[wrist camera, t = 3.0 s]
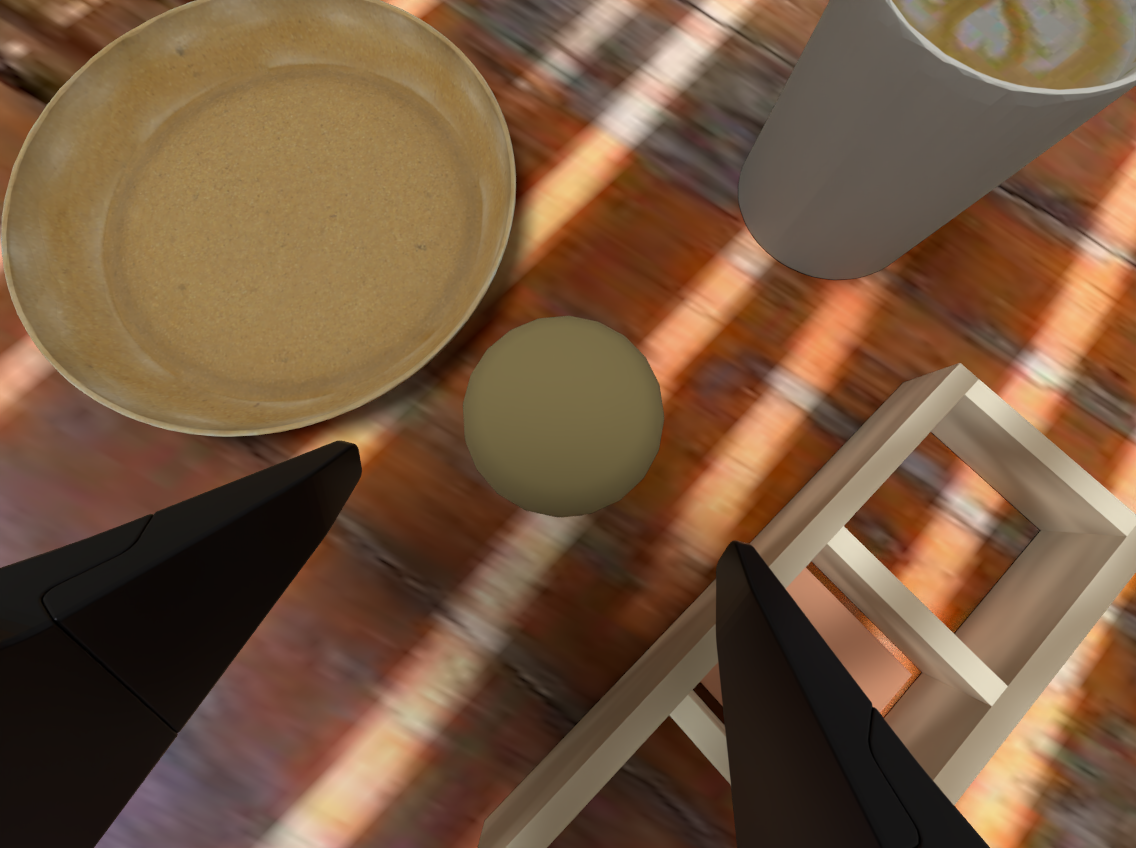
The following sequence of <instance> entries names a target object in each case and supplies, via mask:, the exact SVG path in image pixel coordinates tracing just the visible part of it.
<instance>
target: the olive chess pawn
mask: <svg viewBox="0 0 1136 848" xmlns="http://www.w3.org/2000/svg"><path fill="white" fill-rule="evenodd" d="M463 415H464V433H465V441H466V444H467V446H468V449H469V451H470V454H471V456H472V459H473V461H474V464H475V466H476V469H477V470H478V471H479V472H480V474H481V475H482V476H483V477H484V478H485V479H486V481H487V482H488V483H489V484H490V485H491V487H492V488H493V489H494V490H495V491H496V492H497V494H499V495H501V496H502V497H504V498H506V499H507V500H509V501H511V502H512V503H514V504H516V505H518V506H519V507H521V508H523V509H524V510H527V511H531V512H536V513H540V514H545V515H549V516H554V517H570V516H579V515H584V514H591V513H593V512H595V511H598V510H600V509H602V508H604V507H606V506H608V505H611V504H613V503H615V502H617V501H619V500H621V499H622V498H623V497H624V496H625V495H626V494H627V493H628V492H629V491H630V490H632V489H633V488H634V487H635V486H636V485H637V484H638V483H639V482H640V481H641V480H642V479H643V478H644V477H645V475H646V473H647V471H648V469H649V467H650V465H651V464H652V462H653V460H654V458H655V456H656V454H657V453H658V451H659V446H660V440H661V434H662V429H663V423H664V412H663V406H662V399H661V392H660V386H659V383H658V381H657V379H656V377H655V375H654V373H653V371H652V369H651V367H650V365H649V363H648V361H647V359H646V357H645V356H644V355H643V354H642V353H641V352H640V351H639V350H638V349H637V348H636V347H635V346H634V345H633V344H632V343H631V342H630V341H629V340H628V339H627V338H626V337H625V336H624V335H622V334H620V333H618V332H616V331H614V330H613V329H611V328H609V327H607V326H605V325H603V324H601V323H600V322H597V321H592V320H587V319H582V318H577V317H572V316H561V317H551V318H540V319H537V320H534V321H532V322H529V323H527V324H524V325H522V326H520V327H517V328H515V329H512V330H510V331H509V332H508V333H507V334H505V335H504V336H503V337H502V338H501V339H499V340H498V341H497V342H496V343H494V344H493V345H492V346H491V347H490V348H488V349H487V351H486V352H485V354H484V355H483V357H482V358H481V360H480V361H479V363H478V365H477V366H476V368H475V369H474V371H473V372H472V374H471V376H470V380H469V383H468V387H467V391H466V395H465V398H464V402H463Z"/></svg>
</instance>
